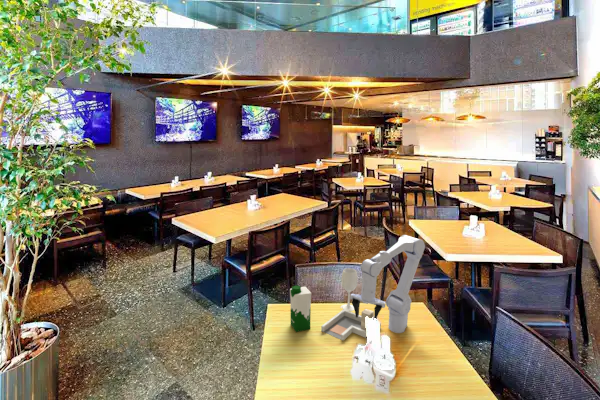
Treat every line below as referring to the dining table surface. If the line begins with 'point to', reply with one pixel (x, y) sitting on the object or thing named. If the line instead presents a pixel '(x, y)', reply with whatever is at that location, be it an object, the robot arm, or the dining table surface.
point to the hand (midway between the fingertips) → (365, 318)
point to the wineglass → (349, 285)
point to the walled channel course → (344, 325)
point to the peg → (364, 314)
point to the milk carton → (300, 308)
